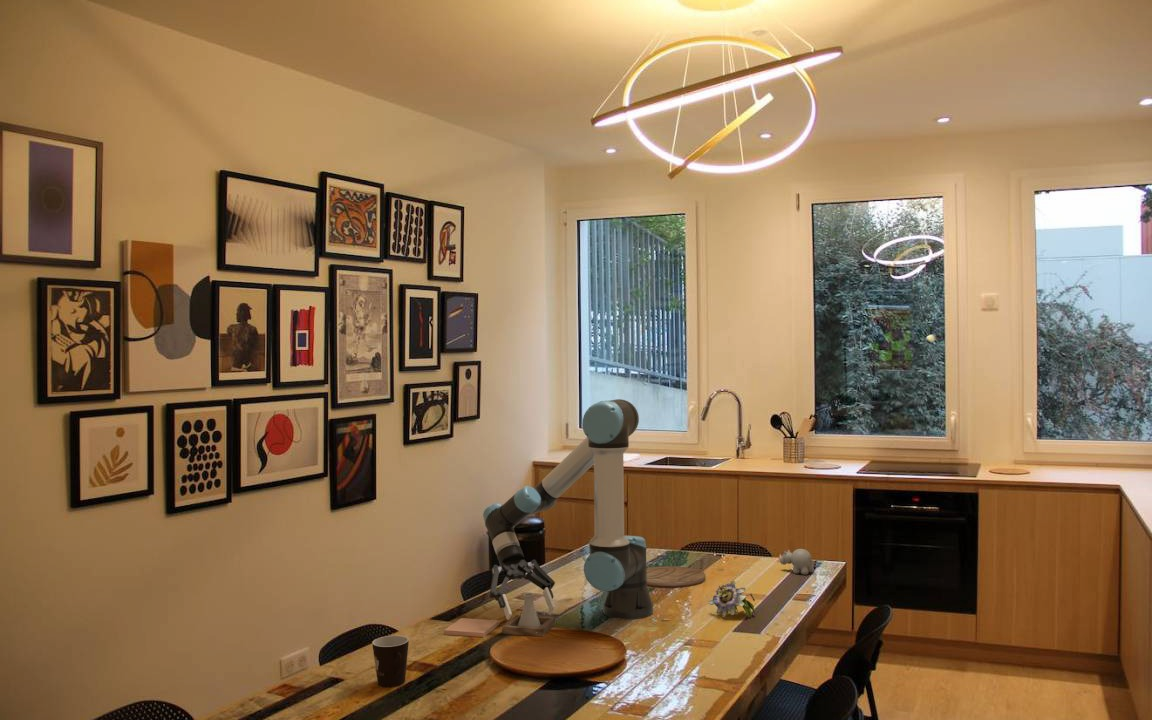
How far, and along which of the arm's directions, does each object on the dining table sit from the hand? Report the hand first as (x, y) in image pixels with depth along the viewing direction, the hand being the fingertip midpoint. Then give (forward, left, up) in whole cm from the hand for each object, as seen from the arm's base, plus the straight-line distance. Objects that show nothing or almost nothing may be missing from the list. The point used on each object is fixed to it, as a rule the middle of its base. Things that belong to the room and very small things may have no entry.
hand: (531, 613), depth 250 cm
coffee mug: (+19, +48, -5) cm, 52 cm away
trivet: (-28, -66, -6) cm, 72 cm away
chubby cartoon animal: (-70, -84, -5) cm, 110 cm away
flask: (+1, -1, -5) cm, 6 cm away
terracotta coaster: (+17, +3, -5) cm, 18 cm away
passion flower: (-54, -27, -5) cm, 61 cm away
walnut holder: (+1, -1, -5) cm, 5 cm away
